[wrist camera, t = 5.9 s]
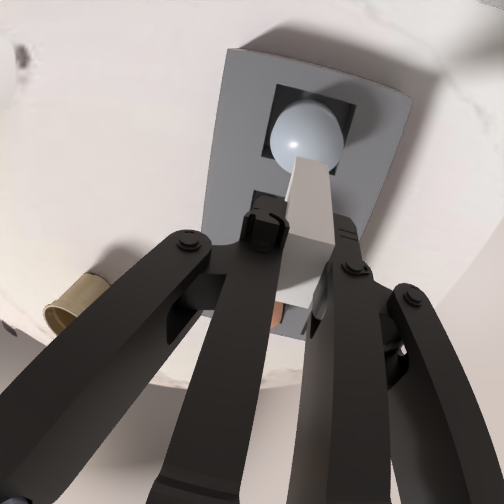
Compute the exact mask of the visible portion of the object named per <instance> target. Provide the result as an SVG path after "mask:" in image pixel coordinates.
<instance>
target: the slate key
mask: <svg viewBox="0 0 504 504" xmlns="http://www.w3.org/2000/svg"><path fill="white" fill-rule="evenodd" d="M270 146H271V151H272V154H273V156H274V158H275V160H276V161H277V163H278V164H279V165H280V166H281V167H282V168H283V169H284V170H286V171H287V172H289V173H291V174H292V171H293V167H294V164H295V160H296V156H299V157H303V158H306V159H310V160H314V161H317V162H321V163H325V164H328V170H329V171H330V170H331V169H333V168H334V167H335V166H336V164H337V163H338V162H339V160H340V158H341V156H342V153H343V147H344V141H343V136H342V133H341V130H340V127H339V124H338V121H337V118H336V116H335V114H334V113H333V111H332V110H331V109H330V108H329V107H328V106H326V105H325V104H323V103H321V102H319V101H316V100H312V99H301V100H297V101H294V102H292V103H290V104H289V105H287V106H286V107H285V108H284V109H283V110H282V111H281V113H280V115H279V117H278V119H277V121H276V123H275V126H274V128H273V130H272V133H271V138H270Z"/></svg>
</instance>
